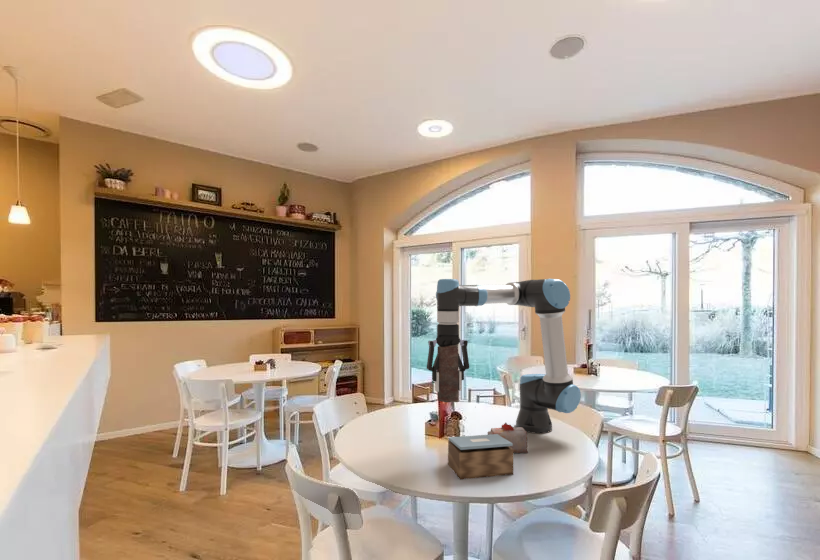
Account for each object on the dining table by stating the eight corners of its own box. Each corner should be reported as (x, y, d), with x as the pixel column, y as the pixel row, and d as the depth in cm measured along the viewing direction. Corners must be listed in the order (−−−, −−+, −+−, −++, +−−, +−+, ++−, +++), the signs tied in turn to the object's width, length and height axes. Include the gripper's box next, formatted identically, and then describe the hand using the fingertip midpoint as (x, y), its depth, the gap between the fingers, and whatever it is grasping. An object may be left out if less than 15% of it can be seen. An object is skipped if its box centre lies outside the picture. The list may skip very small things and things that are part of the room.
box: (497, 460, 143) (497, 436, 144) (513, 474, 132) (513, 449, 132) (448, 464, 139) (448, 440, 140) (460, 479, 128) (460, 453, 128)
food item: (492, 455, 148) (492, 428, 148) (486, 447, 156) (486, 421, 156) (529, 455, 149) (529, 427, 149) (521, 446, 157) (521, 420, 157)
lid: (496, 436, 144) (496, 433, 144) (512, 445, 132) (512, 443, 132) (448, 439, 140) (448, 437, 140) (460, 449, 128) (460, 447, 128)
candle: (452, 406, 136) (452, 345, 137) (433, 403, 140) (433, 344, 141) (462, 401, 143) (462, 343, 143) (443, 398, 147) (443, 342, 147)
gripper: (471, 322, 148) (472, 386, 147) (417, 323, 144) (417, 389, 143) (479, 323, 141) (479, 391, 140) (422, 324, 137) (422, 394, 136)
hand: (448, 390), depth 142 cm, fingers closed on candle, 7 cm apart
